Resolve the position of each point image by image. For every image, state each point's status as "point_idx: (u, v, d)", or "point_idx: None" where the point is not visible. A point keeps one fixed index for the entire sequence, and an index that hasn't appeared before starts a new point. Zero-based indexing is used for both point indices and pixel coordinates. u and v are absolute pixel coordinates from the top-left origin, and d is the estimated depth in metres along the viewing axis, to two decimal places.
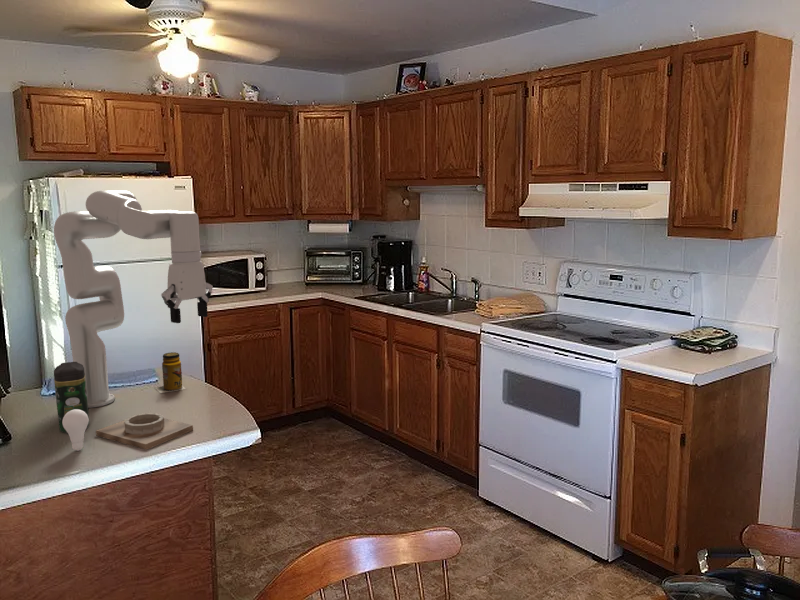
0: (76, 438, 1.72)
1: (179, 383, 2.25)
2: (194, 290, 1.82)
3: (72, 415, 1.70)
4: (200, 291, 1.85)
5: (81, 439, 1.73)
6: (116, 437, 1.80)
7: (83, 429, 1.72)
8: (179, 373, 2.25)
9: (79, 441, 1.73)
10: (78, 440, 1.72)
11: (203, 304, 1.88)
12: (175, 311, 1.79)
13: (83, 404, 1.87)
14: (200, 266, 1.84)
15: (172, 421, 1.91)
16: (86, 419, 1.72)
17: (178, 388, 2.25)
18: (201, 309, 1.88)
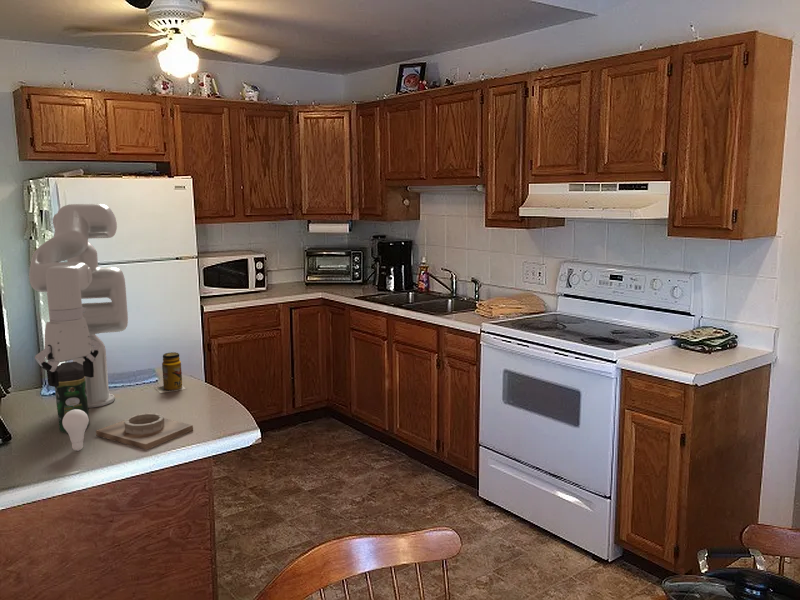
0: (76, 438, 1.72)
1: (179, 383, 2.25)
2: (75, 350, 1.68)
3: (72, 415, 1.70)
4: (83, 351, 1.70)
5: (81, 439, 1.73)
6: (116, 437, 1.80)
7: (83, 429, 1.72)
8: (179, 373, 2.25)
9: (79, 441, 1.73)
10: (78, 440, 1.72)
11: (88, 364, 1.73)
12: (52, 374, 1.65)
13: (83, 404, 1.87)
14: (82, 324, 1.70)
15: (172, 421, 1.91)
16: (86, 419, 1.72)
17: (178, 388, 2.25)
18: (87, 369, 1.74)
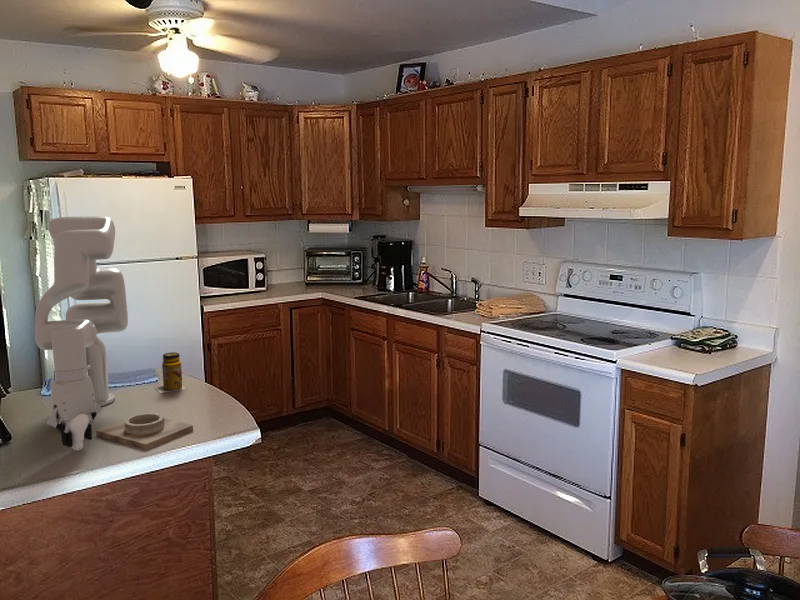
0: (76, 438, 1.72)
1: (179, 383, 2.25)
2: (80, 408, 1.71)
3: None
4: (88, 409, 1.73)
5: (81, 439, 1.73)
6: (116, 437, 1.80)
7: (83, 429, 1.72)
8: (179, 373, 2.25)
9: (79, 441, 1.73)
10: (78, 440, 1.72)
11: None
12: (66, 435, 1.70)
13: None
14: (87, 382, 1.72)
15: (172, 421, 1.91)
16: (86, 419, 1.72)
17: (178, 388, 2.25)
18: (85, 431, 1.75)
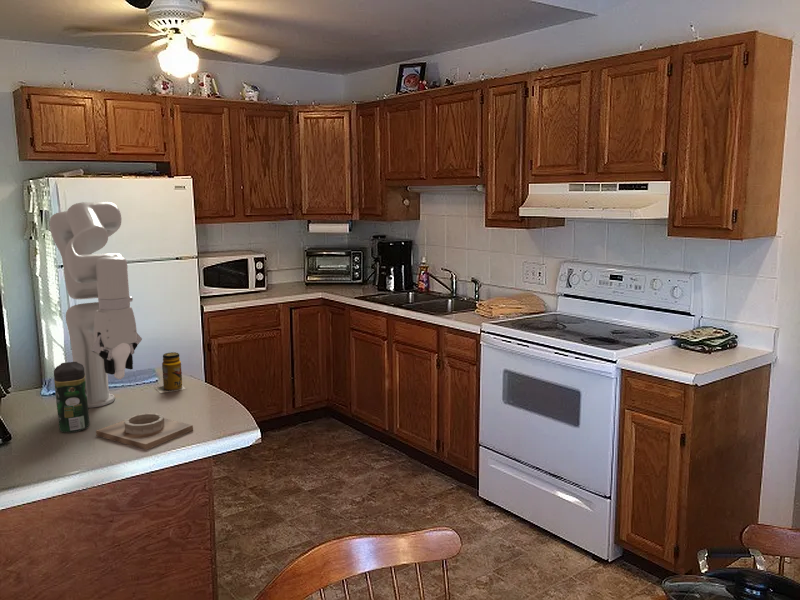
0: (118, 366, 1.77)
1: (179, 383, 2.25)
2: (122, 337, 1.76)
3: None
4: (130, 338, 1.79)
5: (123, 368, 1.78)
6: (116, 437, 1.80)
7: (125, 358, 1.78)
8: (179, 373, 2.25)
9: (121, 369, 1.78)
10: (120, 368, 1.78)
11: (128, 356, 1.80)
12: (109, 362, 1.75)
13: (83, 404, 1.87)
14: (129, 312, 1.78)
15: (172, 421, 1.91)
16: (128, 348, 1.78)
17: (178, 388, 2.25)
18: (126, 361, 1.81)
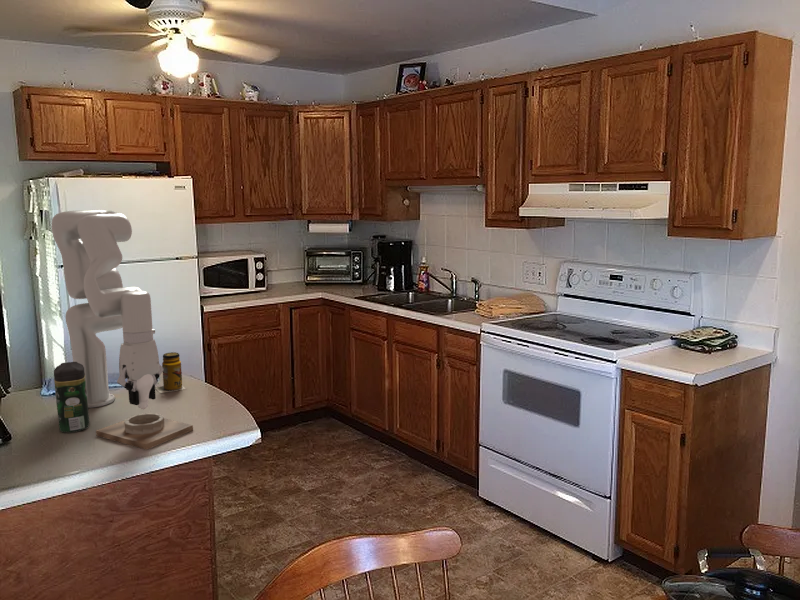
0: (142, 397, 1.83)
1: (179, 383, 2.25)
2: (146, 369, 1.82)
3: None
4: (153, 370, 1.84)
5: (146, 398, 1.84)
6: (116, 437, 1.80)
7: (149, 389, 1.83)
8: (179, 373, 2.25)
9: (145, 400, 1.84)
10: (144, 399, 1.83)
11: None
12: (133, 393, 1.81)
13: (83, 404, 1.87)
14: (153, 345, 1.83)
15: (172, 421, 1.91)
16: (152, 379, 1.83)
17: (178, 388, 2.25)
18: None
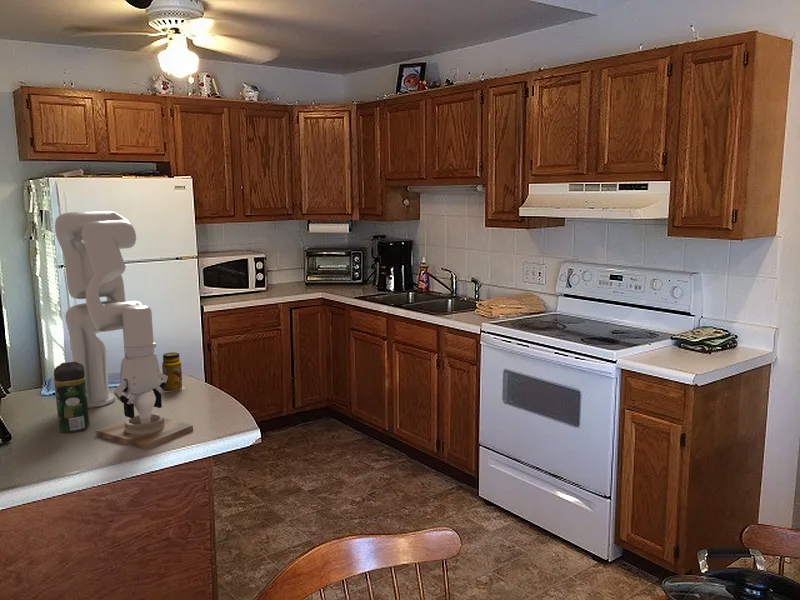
0: (144, 415, 1.84)
1: (179, 383, 2.25)
2: (147, 383, 1.83)
3: (140, 393, 1.83)
4: (154, 383, 1.85)
5: (149, 416, 1.85)
6: (116, 437, 1.80)
7: (151, 407, 1.84)
8: (179, 373, 2.25)
9: (147, 418, 1.85)
10: (146, 417, 1.85)
11: (157, 395, 1.88)
12: (128, 406, 1.80)
13: (83, 404, 1.87)
14: (154, 358, 1.84)
15: (172, 421, 1.91)
16: (153, 397, 1.85)
17: (178, 388, 2.25)
18: None
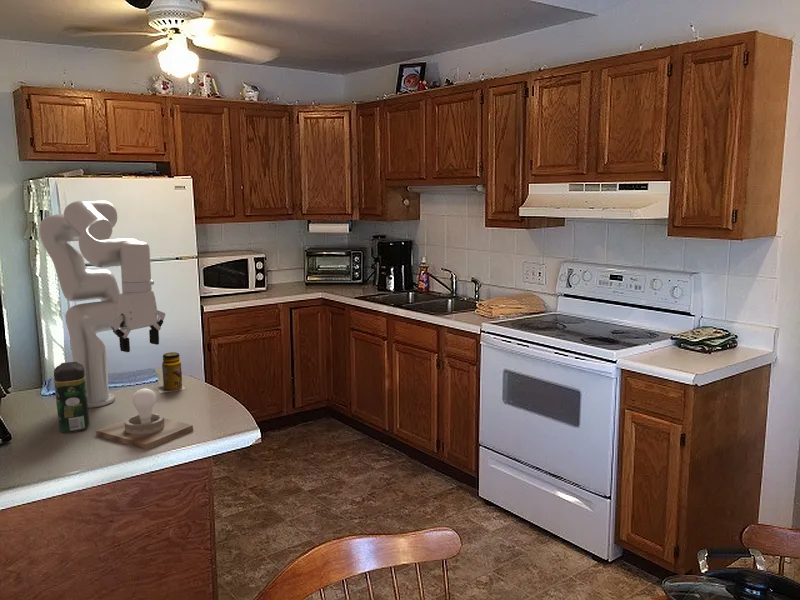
0: (145, 415, 1.84)
1: (179, 383, 2.25)
2: (144, 319, 1.84)
3: (141, 393, 1.83)
4: (151, 320, 1.87)
5: (149, 416, 1.85)
6: (116, 437, 1.80)
7: (151, 407, 1.84)
8: (179, 373, 2.25)
9: (147, 418, 1.85)
10: (146, 417, 1.85)
11: (154, 332, 1.90)
12: (124, 340, 1.81)
13: (83, 404, 1.87)
14: (151, 295, 1.85)
15: (172, 421, 1.91)
16: (154, 397, 1.85)
17: (178, 388, 2.25)
18: (153, 337, 1.90)
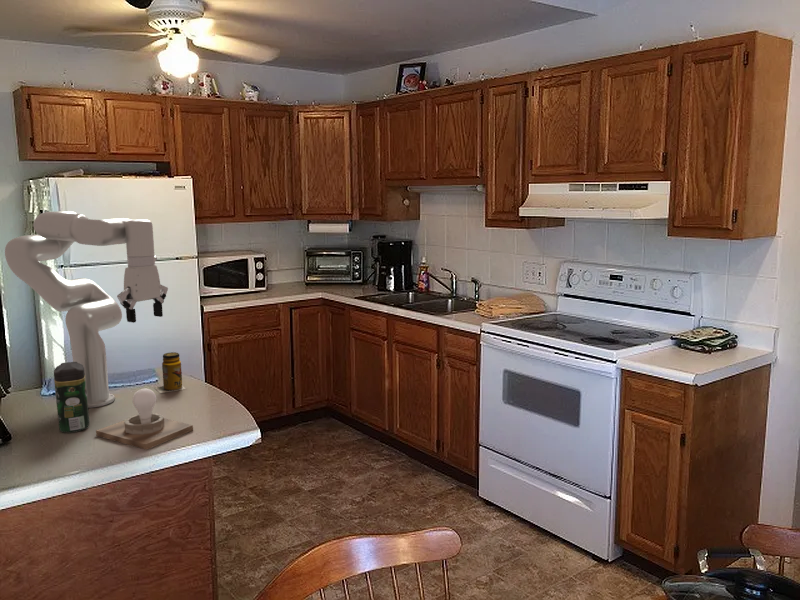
0: (145, 415, 1.84)
1: (179, 383, 2.25)
2: (148, 292, 1.98)
3: (141, 393, 1.83)
4: (155, 293, 2.00)
5: (149, 416, 1.85)
6: (116, 437, 1.80)
7: (151, 407, 1.84)
8: (179, 373, 2.25)
9: (147, 418, 1.85)
10: (146, 417, 1.85)
11: (158, 305, 2.03)
12: (130, 311, 1.94)
13: (83, 404, 1.87)
14: (154, 270, 1.99)
15: (172, 421, 1.91)
16: (154, 397, 1.85)
17: (178, 388, 2.25)
18: (156, 309, 2.04)
